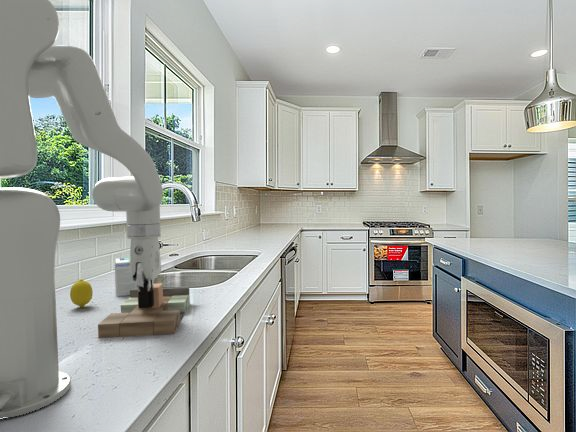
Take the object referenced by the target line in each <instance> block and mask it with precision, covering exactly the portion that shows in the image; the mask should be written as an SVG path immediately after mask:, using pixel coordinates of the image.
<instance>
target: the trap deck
mask: <svg viewBox="0 0 576 432" xmlns="http://www.w3.org/2000/svg"><path fill="white" fill-rule="evenodd" d="M190 297H191V296H190V286H178V287H177V286H174V287H163V303H162V304H161V306H160V307H159V308H142V309H138V289H131V290H130V295H129V298H127V299H126V300H125V301H123V302H122V303H121V305H120V312H112V313H111V312H110V314H109V315H107V316H106V317H105V318H104V319H102V321H101V322H99V323H97V331H98V332H97V335H98V336H97V337H98V339H107V338H124V337H125V338H127V337H139V336H140V337H141V336H143V337H144V336H157V335H174V334H175V333H176V331H177V330H178V327H179V325H180V324H181V320H182V319H183V317H184V315H185V313H186V312H187V310H188V309H189V306H190V305H191V304H190V303H191V300H190V299H191V298H190Z"/></svg>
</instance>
